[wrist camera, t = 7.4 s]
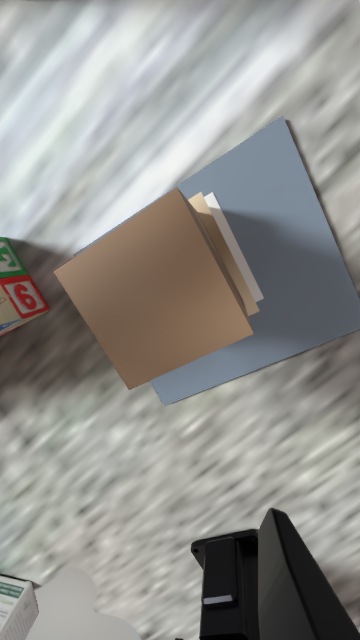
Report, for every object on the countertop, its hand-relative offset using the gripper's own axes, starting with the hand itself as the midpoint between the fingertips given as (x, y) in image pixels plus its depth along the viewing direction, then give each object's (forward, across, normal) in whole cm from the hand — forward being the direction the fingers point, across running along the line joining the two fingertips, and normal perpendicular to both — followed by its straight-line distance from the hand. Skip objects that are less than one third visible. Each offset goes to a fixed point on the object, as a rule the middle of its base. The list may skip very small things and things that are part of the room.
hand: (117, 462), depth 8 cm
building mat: (+11, -1, -4) cm, 12 cm away
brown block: (+6, 0, -5) cm, 8 cm away
